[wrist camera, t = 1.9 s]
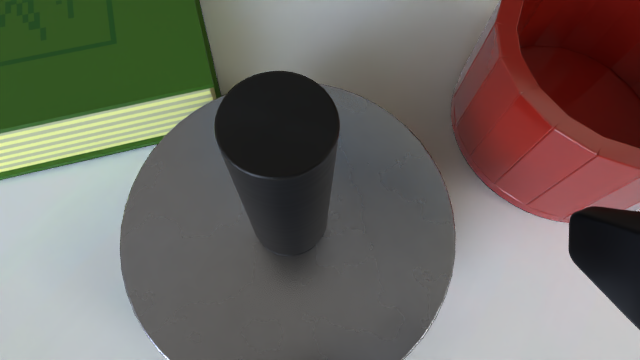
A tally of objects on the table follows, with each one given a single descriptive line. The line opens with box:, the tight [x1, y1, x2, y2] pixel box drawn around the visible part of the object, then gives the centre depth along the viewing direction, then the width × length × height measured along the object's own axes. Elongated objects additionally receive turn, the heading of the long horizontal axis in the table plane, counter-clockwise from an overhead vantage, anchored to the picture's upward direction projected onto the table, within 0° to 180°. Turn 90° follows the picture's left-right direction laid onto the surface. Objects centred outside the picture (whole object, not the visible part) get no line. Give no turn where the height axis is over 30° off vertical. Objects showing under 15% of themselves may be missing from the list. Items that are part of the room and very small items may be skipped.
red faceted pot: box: [451, 0, 640, 223], centre depth 20 cm, size 11×11×6 cm
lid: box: [120, 71, 456, 360], centre depth 13 cm, size 13×13×8 cm
